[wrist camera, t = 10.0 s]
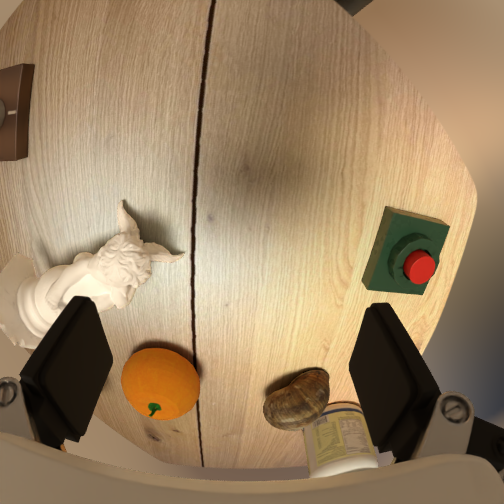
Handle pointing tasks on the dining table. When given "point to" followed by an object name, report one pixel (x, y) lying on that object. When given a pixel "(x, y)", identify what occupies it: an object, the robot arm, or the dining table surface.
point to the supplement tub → (339, 442)
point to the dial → (2, 112)
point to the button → (419, 266)
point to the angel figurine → (75, 282)
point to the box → (402, 250)
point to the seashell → (298, 401)
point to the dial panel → (15, 111)
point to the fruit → (160, 383)
